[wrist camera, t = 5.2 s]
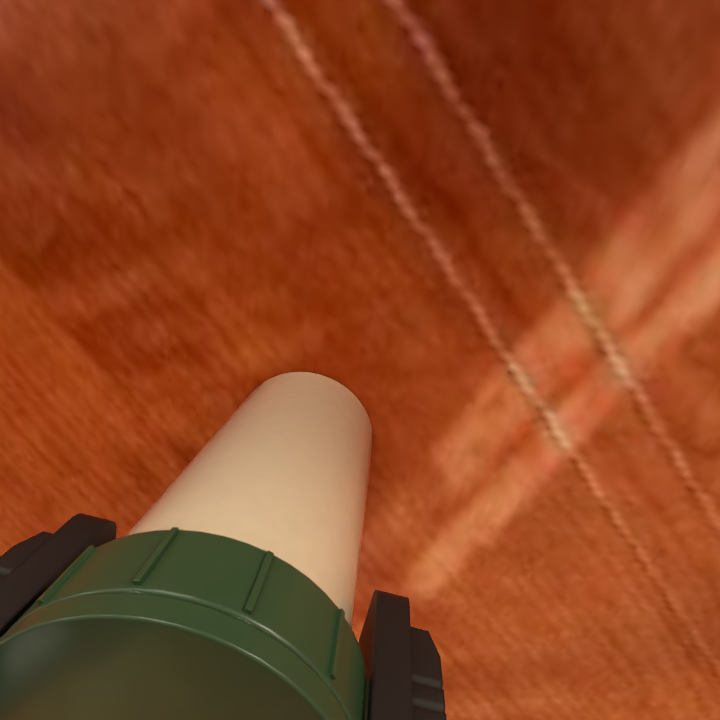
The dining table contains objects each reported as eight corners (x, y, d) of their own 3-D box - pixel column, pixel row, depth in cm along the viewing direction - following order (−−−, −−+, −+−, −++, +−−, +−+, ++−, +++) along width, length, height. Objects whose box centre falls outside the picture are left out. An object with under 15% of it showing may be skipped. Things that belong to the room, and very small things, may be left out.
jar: (229, 476, 17) (9, 803, 8) (249, 356, 16) (5, 567, 6) (355, 508, 17) (301, 879, 7) (387, 390, 16) (373, 661, 6)
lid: (44, 734, 9) (-37, 849, 7) (48, 488, 7) (-57, 566, 5) (328, 807, 9) (312, 941, 7) (404, 578, 7) (407, 685, 5)
